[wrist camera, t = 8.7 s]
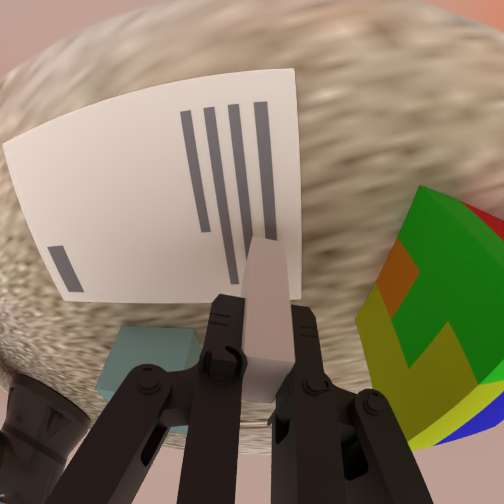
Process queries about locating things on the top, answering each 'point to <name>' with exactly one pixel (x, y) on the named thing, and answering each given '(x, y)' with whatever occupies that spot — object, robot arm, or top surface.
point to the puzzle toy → (439, 322)
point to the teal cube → (148, 356)
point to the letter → (165, 188)
